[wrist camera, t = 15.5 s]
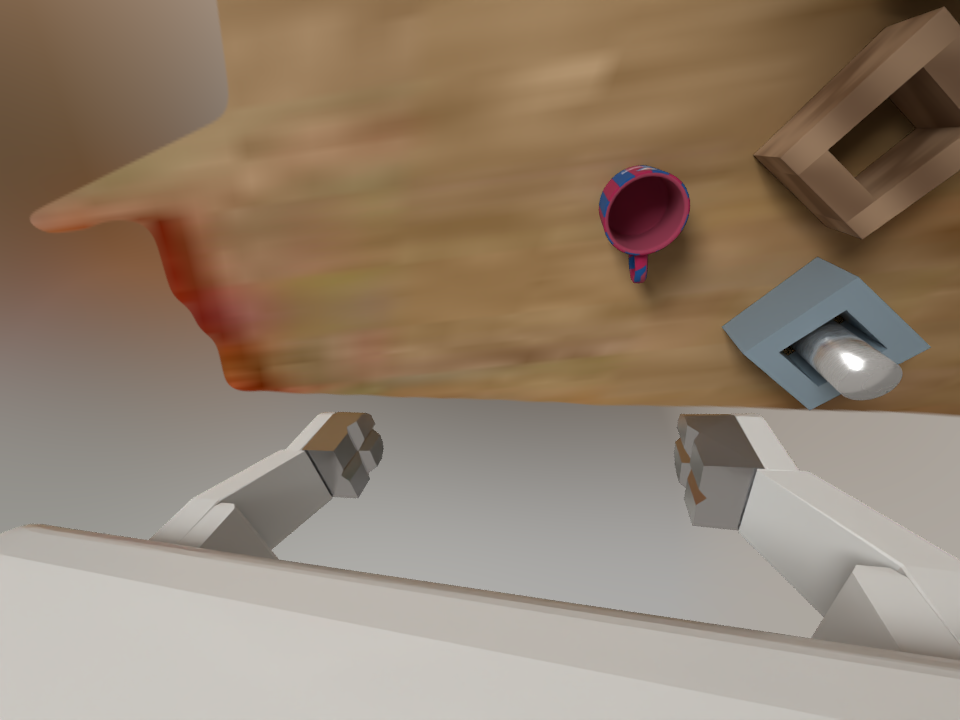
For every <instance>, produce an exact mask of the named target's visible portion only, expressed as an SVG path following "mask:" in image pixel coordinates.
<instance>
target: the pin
mask: <svg viewBox="0 0 960 720" xmlns="http://www.w3.org/2000/svg"><path fill="white" fill-rule="evenodd" d="M790 346H791V347H792V348H793V349H794V350H795V351H796V352H797V353H798V354H799V355H801V356H802V357H803V358H804V359H805V360H806V361H807V362H808V363H809V364H810V365H811V366H812V367H813V368H814V369H815V370H816V371H817V372H818V373H819V374H821V375H822V376H823V377H824V378H825V379H826V380H827V381H828V382H829V383H830V384H831V385H832V386H833V387H834V388H835V389H836V390H837V391H838V392H840V393H841V394H842V395H843V396H844V397H846V398H849V399H853V400H868V399H873V398H877V397H880V396H882V395H884V394H886V393H888V392H890V391H891V390H892V389H894V388H895V387H896V386H897V385H898V383H899V382H900V380H901V378H902V369H901V368H900V366H899V365H898V364H896V363H895V362H894V361H892V360H891V359H889V358H888V357H886V356H885V355H883V354H882V353H881V352H879V351H878V350H876V349H875V348H873V347H872V346H870V345H869V344H868V343H866V342H865V341H863V340H862V339H860V338H859V337H857V336H856V335H855V334H853V333H852V332H850V331H849V330H847V329H846V328H844V327H843V326H842V325H840V324H839V323H837V322H836V321H834V320H833V319H831V320H830V321H828V322H826V323H825V324H823V325H822V326H820V327H818V328H817V329H815V330H814V331H812V332H811V333H809V334H807V335H806V336H804V337H803V338H801V339H799V340H798V341H796V342H795V343H793V344H791V345H790Z"/></svg>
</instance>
